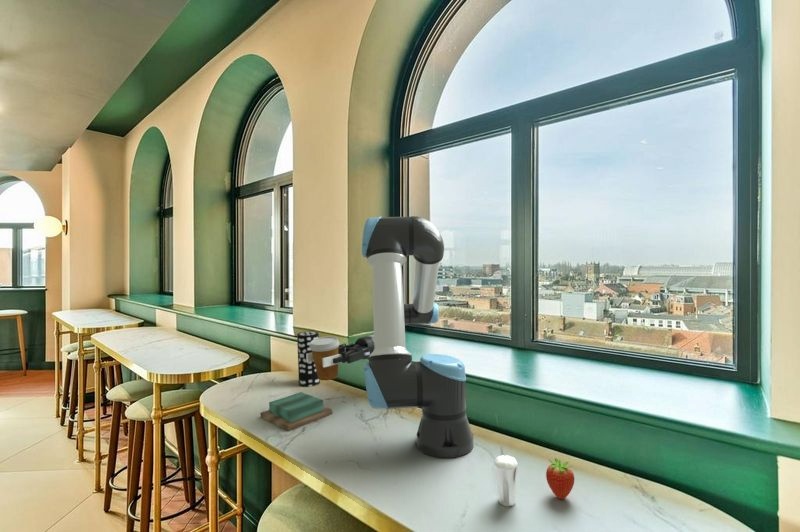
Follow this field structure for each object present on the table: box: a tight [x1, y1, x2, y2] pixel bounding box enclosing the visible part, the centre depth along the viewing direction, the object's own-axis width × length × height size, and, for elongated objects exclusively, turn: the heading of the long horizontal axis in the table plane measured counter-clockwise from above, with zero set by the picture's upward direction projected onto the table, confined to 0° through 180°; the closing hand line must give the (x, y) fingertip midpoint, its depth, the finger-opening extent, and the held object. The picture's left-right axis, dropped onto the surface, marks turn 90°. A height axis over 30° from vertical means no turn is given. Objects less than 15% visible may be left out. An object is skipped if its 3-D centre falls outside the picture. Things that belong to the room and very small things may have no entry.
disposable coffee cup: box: [309, 336, 341, 381], centre depth 129 cm, size 10×10×12 cm
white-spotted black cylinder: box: [296, 331, 321, 388], centre depth 162 cm, size 8×8×20 cm
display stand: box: [260, 391, 333, 432], centre depth 130 cm, size 16×16×5 cm
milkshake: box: [493, 445, 519, 507], centre depth 83 cm, size 5×5×10 cm
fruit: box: [545, 457, 575, 500], centre depth 83 cm, size 5×5×8 cm
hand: (315, 360), depth 126 cm, fingers closed on disposable coffee cup, 8 cm apart
